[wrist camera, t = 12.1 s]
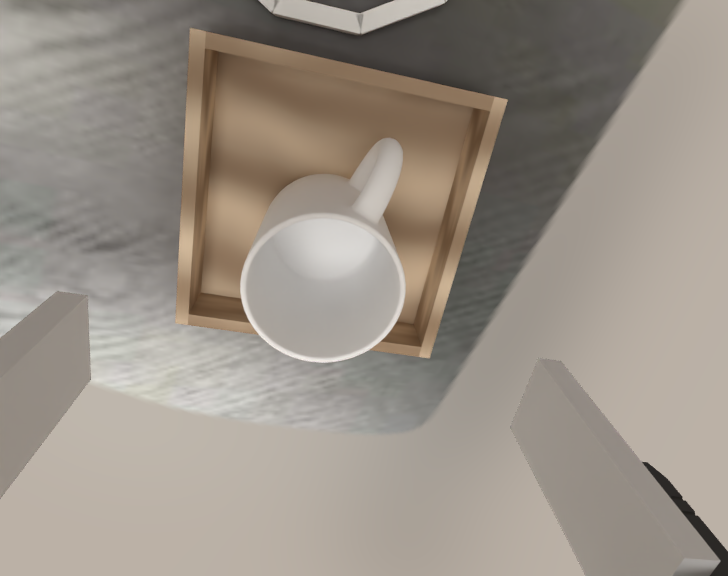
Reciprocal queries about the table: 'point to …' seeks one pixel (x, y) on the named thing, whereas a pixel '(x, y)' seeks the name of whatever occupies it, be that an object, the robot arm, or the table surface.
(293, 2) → the socket ring
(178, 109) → the table surface
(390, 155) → the mug
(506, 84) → the table surface
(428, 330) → the oak bin
